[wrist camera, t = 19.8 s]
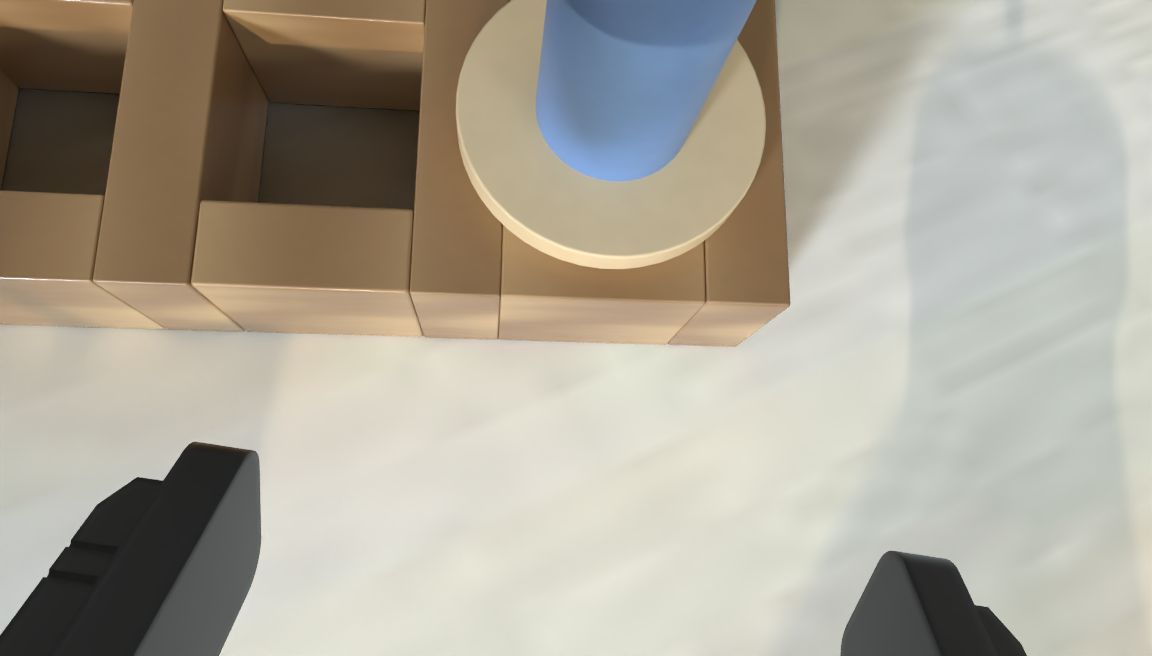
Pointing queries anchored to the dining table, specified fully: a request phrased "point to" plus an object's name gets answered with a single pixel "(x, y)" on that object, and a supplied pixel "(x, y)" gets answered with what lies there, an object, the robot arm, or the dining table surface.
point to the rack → (319, 232)
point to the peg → (611, 124)
